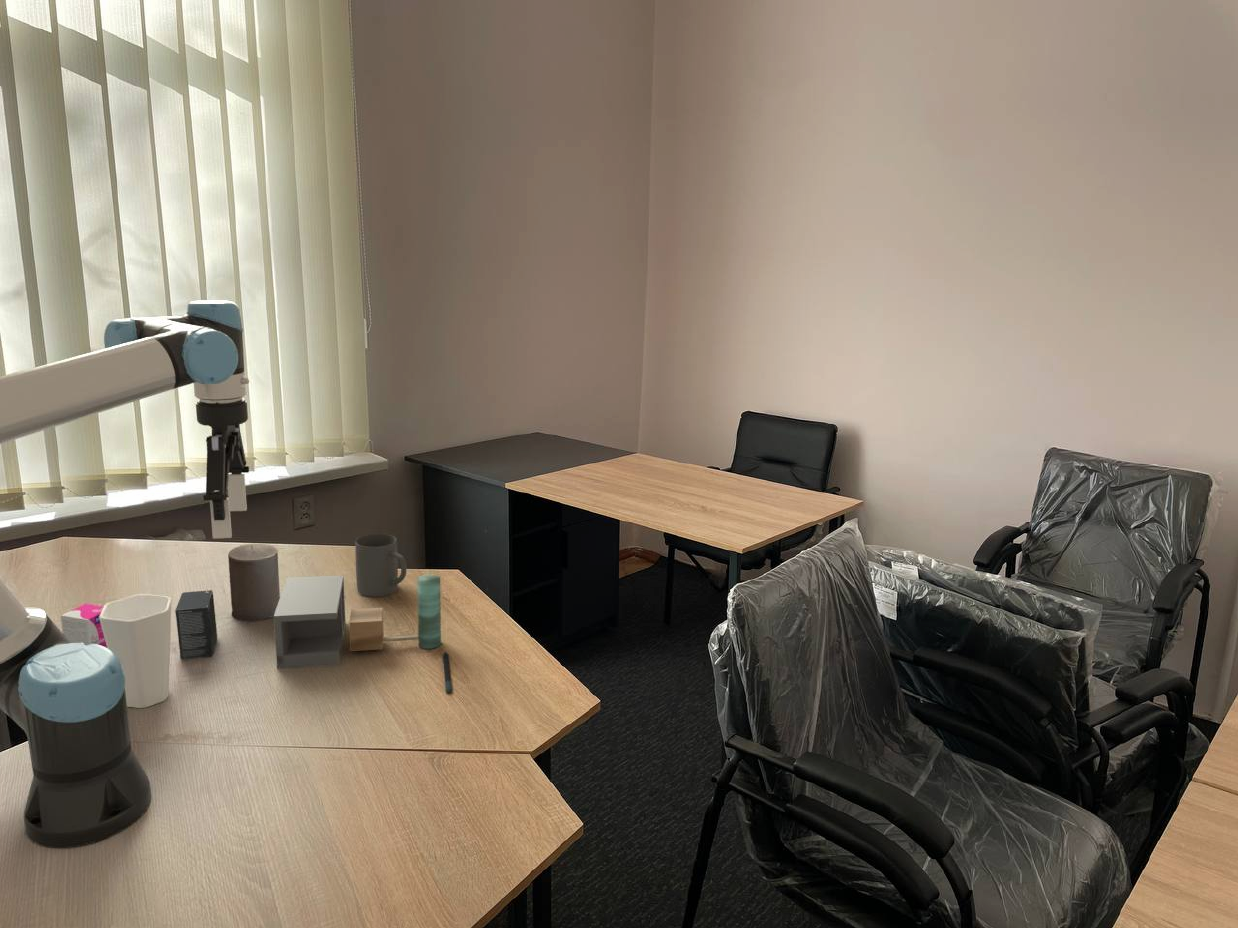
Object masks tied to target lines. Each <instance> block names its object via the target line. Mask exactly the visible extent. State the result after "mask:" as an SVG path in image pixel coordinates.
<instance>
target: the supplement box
mask: <svg viewBox="0 0 1238 928" xmlns="http://www.w3.org/2000/svg"><path fill="white" fill-rule="evenodd" d="M103 607H104V606H102V605H97V604H96V605H95V604H89V603H83V604H82V605H79V606H77V607H76V608H74V609H71V610H70V611H68V612H66V613H63V614H62V615H60V621H61V629H62V630H61V632H62V633H63V635H64V636H65V637H66V638H67V639H68V640H69V641H70V642H71V643H85V644H86V645H90V644H97V645H101V646H104V647H106V648H107V645H106V641H105V638H104V634H103V630H102V626H101V623H100V619H99V616H100V614H101V612H102V609H103Z"/></svg>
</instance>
